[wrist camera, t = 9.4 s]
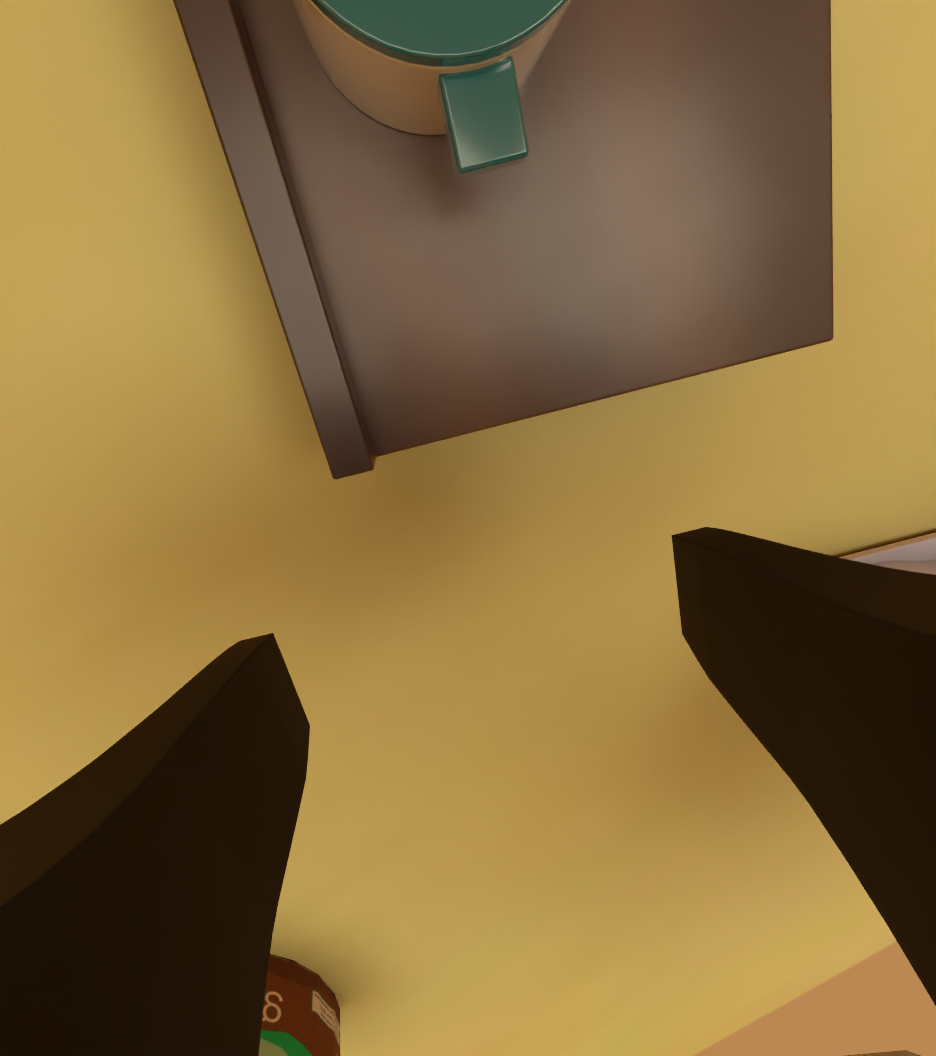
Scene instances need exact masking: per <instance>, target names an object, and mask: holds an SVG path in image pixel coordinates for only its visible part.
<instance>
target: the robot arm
mask: <svg viewBox="0 0 936 1056" xmlns="http://www.w3.org/2000/svg"><path fill="white" fill-rule="evenodd" d="M672 542H673V551H674V561H675V570H676V580H677V589H678V599H679V608H680V617H681V627H682V634H683V636H684V638H685V639H686V641H687V643H688V645H689V646H690V648H691V650H692V652H693V653H694V655H695V657H696V658H697V660H698V662H699V663H700V665H701V666H702V668H703V670H704V671H705V673H706V675H707V676H708V678H709V679H710V680H711V682H712V683H713V684H714V685H715V687H716V688H717V689H718V691H719V692H720V693H721V694H722V695H723V697H724V698H725V699H726V700H727V702H728V703H729V704H730V705H731V707H732V708H733V709H734V710H735V712H736V713H737V714H738V715H739V717H740V718H741V719H742V720H743V721H744V723H745V724H746V725H747V726H748V727H749V729H750V730H751V731H752V732H753V734H754V735H755V736H756V737H757V738H758V740H759V741H760V742H761V743H762V745H763V746H764V747H765V748H766V749H767V751H768V752H769V753H770V754H771V756H772V757H773V758H774V759H775V760H776V762H777V763H778V764H779V765H780V767H781V768H782V769H783V770H784V771H785V773H786V774H787V775H788V776H789V778H790V779H791V780H792V782H793V783H794V784H795V786H796V787H797V788H798V790H799V791H800V792H801V794H802V795H803V796H804V798H805V799H806V800H807V801H808V803H809V804H810V806H811V807H812V809H813V810H814V812H815V813H816V815H817V816H818V818H819V819H820V821H821V822H822V824H823V825H824V827H825V829H826V830H827V832H828V833H829V835H830V836H831V838H832V839H833V841H834V842H835V844H836V845H837V847H838V848H839V850H840V851H841V853H842V854H843V856H844V857H845V859H846V860H847V862H848V863H849V865H850V867H851V868H852V870H853V871H854V873H855V875H856V876H857V878H858V879H859V881H860V882H861V884H862V886H863V887H864V889H865V890H866V892H867V894H868V895H869V897H870V898H871V900H872V901H873V903H874V905H875V906H876V908H877V909H878V911H879V913H880V914H881V916H882V917H883V919H884V921H885V922H886V924H887V925H888V927H889V929H890V930H891V932H892V934H893V935H894V937H895V939H896V940H897V942H898V944H899V945H900V947H901V948H902V950H903V952H904V953H905V955H906V957H907V959H908V960H909V962H910V964H911V965H912V967H913V969H914V970H915V972H916V973H917V975H918V977H919V979H920V980H921V982H922V984H923V985H924V987H925V989H926V990H927V992H928V994H929V995H930V997H931V999H932V1000H933V1002H934V1004H935V1005H936V532H935V533H931V534H927V535H923V536H920V537H916V538H912V539H908V540H904V541H900V542H896V543H892V544H888V545H885V546H881V547H877V548H873V549H869V550H865V551H861V552H857V553H854V554H850V555H846V556H842V557H834V556H830V555H825V554H821V553H817V552H812V551H808V550H804V549H800V548H796V547H792V546H788V545H784V544H780V543H776V542H772V541H768V540H764V539H761V538H757V537H753V536H749V535H745V534H741V533H736V532H732V531H727V530H723V529H717V528H709V527H704V528H700V529H696V530H692V531H688V532H684V533H680V534H675V535H672ZM309 731H310V724H309V722H308V719H307V717H306V714H305V712H304V709H303V707H302V704H301V702H300V699H299V697H298V694H297V692H296V689H295V687H294V684H293V682H292V679H291V677H290V674H289V672H288V669H287V667H286V664H285V662H284V659H283V657H282V654H281V652H280V649H279V647H278V644H277V642H276V639H275V637H274V634H273V633H271V634H267V635H263V636H259V637H255V638H250V639H246V640H242V641H239V642H237V643H236V644H234V645H233V646H231V647H230V648H228V649H227V650H226V651H224V652H223V653H222V654H221V655H219V656H218V657H217V658H216V659H214V660H213V661H212V662H211V663H210V664H209V665H207V666H206V667H205V668H204V669H203V670H202V671H200V672H199V673H198V674H197V675H196V676H195V677H193V678H192V679H191V680H190V681H189V682H188V683H187V684H185V685H184V686H183V687H182V688H181V689H180V690H178V691H177V692H176V693H175V694H174V695H173V696H172V697H170V698H169V699H168V700H167V701H166V702H165V703H164V704H162V705H161V706H160V707H159V708H158V709H157V710H155V711H154V712H153V713H152V714H151V715H149V716H148V717H147V718H146V719H144V720H143V721H142V722H141V723H140V724H138V725H137V726H136V727H135V728H133V729H132V730H131V731H130V732H129V733H127V734H126V735H125V736H124V737H122V738H121V739H120V740H119V741H117V742H116V743H115V744H114V745H113V746H111V747H110V748H109V749H108V750H106V751H105V752H104V753H103V754H101V755H100V756H99V757H98V758H96V759H95V760H94V761H92V762H91V763H90V764H88V765H87V766H86V767H84V768H83V769H82V770H80V771H79V772H78V773H76V774H75V775H73V776H72V777H71V778H69V779H68V780H67V781H65V782H64V783H62V784H61V785H59V786H58V787H57V788H55V789H54V790H52V791H51V792H49V793H48V794H46V795H45V796H44V797H42V798H41V799H39V800H38V801H36V802H35V803H34V804H32V805H31V806H29V807H28V808H26V809H25V810H23V811H22V812H20V813H19V814H17V815H15V816H14V817H12V818H11V819H9V820H7V821H6V822H4V823H2V824H1V825H0V1056H259V1047H260V1037H261V1027H262V1017H263V1007H264V998H265V990H266V982H267V973H268V965H269V957H270V949H271V940H272V933H273V928H274V922H275V917H276V912H277V906H278V901H279V897H280V892H281V888H282V884H283V879H284V875H285V870H286V866H287V861H288V857H289V853H290V848H291V844H292V839H293V835H294V831H295V826H296V822H297V817H298V813H299V808H300V803H301V799H302V794H303V789H304V785H305V780H306V772H307V761H308V748H309ZM848 1056H920V1055H917V1054H915V1053H912V1052H909V1051H906V1050H903V1051H892V1052H881V1053H870V1054H859V1055H848Z"/></svg>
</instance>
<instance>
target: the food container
mask: <svg viewBox="0 0 936 1056" xmlns="http://www.w3.org/2000/svg"><path fill="white" fill-rule="evenodd" d="M259 1056H340V1008H339V1005H338V1003H337V1000H336V997H335V994H334V993H333V992H332V991H331V990H330V988H329V987H328V986H327V985H326V984H325V983H324V982H323V980H322V979H321V978H320V977H319V976H318V975H316V974H315V973H313V972H311V971H309V970H308V969H306V968H304V967H302V966H301V965H299V964H297V963H296V962H294V961H290V960H287V959H283V958H279V957H275V956H272V955H270V957H269V965H268V973H267V982H266V990H265V998H264V1007H263V1017H262V1027H261V1037H260V1047H259Z"/></svg>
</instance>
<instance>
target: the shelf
mask: <svg viewBox="0 0 936 1056" xmlns="http://www.w3.org/2000/svg"><path fill="white" fill-rule="evenodd" d="M173 2H174V5H175V8H176V11H177V14H178V17H179V20H180V23H181V26H182V29H183V32H184V35H185V38H186V41H187V44H188V47H189V50H190V53H191V56H192V59H193V61H194V64H195V67H196V70H197V73H198V76H199V79H200V82H201V85H202V88H203V91H204V94H205V97H206V100H207V103H208V106H209V109H210V112H211V115H212V118H213V121H214V124H215V127H216V130H217V133H218V136H219V139H220V142H221V145H222V148H223V151H224V154H225V157H226V160H227V163H228V166H229V169H230V172H231V175H232V178H233V181H234V184H235V187H236V190H237V193H238V196H239V199H240V202H241V205H242V208H243V211H244V214H245V217H246V220H247V223H248V226H249V229H250V232H251V235H252V238H253V241H254V244H255V247H256V250H257V253H258V256H259V259H260V262H261V265H262V268H263V271H264V274H265V277H266V280H267V283H268V286H269V289H270V292H271V295H272V298H273V301H274V304H275V307H276V310H277V313H278V316H279V319H280V322H281V325H282V328H283V331H284V334H285V337H286V340H287V343H288V346H289V349H290V351H291V354H292V357H293V360H294V363H295V366H296V369H297V372H298V375H299V378H300V381H301V384H302V387H303V390H304V393H305V396H306V399H307V402H308V405H309V408H310V411H311V414H312V417H313V420H314V423H315V426H316V429H317V432H318V435H319V438H320V441H321V444H322V447H323V450H324V453H325V456H326V459H327V462H328V465H329V468H330V471H331V474H332V477H333V478H334V479H340V478H344V477H348V476H352V475H356V474H359V473H363V472H367V471H371V470H373V469H374V464H375V459H376V457H378V456H382V455H386V454H390V453H394V452H398V451H402V450H406V449H410V448H413V447H417V446H421V445H425V444H429V443H433V442H437V441H441V440H445V439H449V438H452V437H456V436H460V435H464V434H468V433H472V432H476V431H480V430H484V429H488V428H492V427H495V426H499V425H503V424H507V423H511V422H515V421H519V420H523V419H527V418H531V417H535V416H538V415H542V414H546V413H550V412H554V411H558V410H562V409H566V408H570V407H574V406H577V405H581V404H585V403H589V402H593V401H597V400H601V399H605V398H609V397H613V396H617V395H620V394H624V393H628V392H632V391H636V390H640V389H644V388H648V387H652V386H656V385H659V384H663V383H667V382H671V381H675V380H679V379H683V378H687V377H691V376H695V375H699V374H702V373H706V372H710V371H714V370H718V369H722V368H726V367H730V366H734V365H738V364H742V363H745V362H749V361H753V360H757V359H761V358H765V357H769V356H773V355H777V354H781V353H784V352H788V351H792V350H796V349H800V348H804V347H808V346H812V345H816V344H820V343H824V342H827V341H830V340H832V339H833V237H832V115H831V0H573V1H572V2H571V4H570V6H569V8H568V9H567V11H566V13H565V15H564V16H563V18H562V20H561V22H560V23H559V25H558V27H557V29H556V31H555V32H554V34H553V36H552V38H551V39H550V41H549V43H548V45H547V46H546V48H545V50H544V52H543V53H542V55H541V57H540V59H539V61H538V62H537V64H536V66H535V68H534V69H533V71H532V72H531V74H530V76H529V77H528V79H527V80H526V82H525V84H524V85H523V86H522V87H521V89H520V90H519V95H520V101H521V107H522V113H523V119H524V124H525V130H526V136H527V142H528V148H529V154H528V156H527V157H526V158H525V159H524V160H523V162H521V163H520V164H517V165H513V166H509V167H506V168H502V169H498V170H494V171H490V172H486V173H482V174H478V175H474V176H470V177H466V178H462V179H458V178H456V176H455V173H454V168H453V164H452V159H451V154H450V150H449V145H448V140H447V135H446V134H443V135H421V134H414V133H408V132H405V131H401V130H398V129H394V128H392V127H389V126H387V125H385V124H383V123H381V122H378V121H377V120H375V119H373V118H372V117H370V116H369V115H367V114H365V113H364V112H362V111H361V110H360V109H359V108H357V107H356V106H355V105H354V104H353V103H351V102H350V101H349V100H348V99H347V98H346V97H345V96H344V95H343V94H342V93H341V92H340V91H339V90H338V89H337V88H336V86H335V85H334V84H333V82H332V81H331V80H330V78H329V77H328V76H327V75H326V73H325V72H324V70H323V69H322V67H321V65H320V64H319V62H318V60H317V59H316V57H315V55H314V53H313V51H312V49H311V47H310V45H309V42H308V40H307V38H306V36H305V34H304V31H303V28H302V26H301V23H300V21H299V18H298V15H297V13H296V10H295V8H294V5H293V2H292V0H173Z"/></svg>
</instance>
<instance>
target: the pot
mask: <svg viewBox="0 0 936 1056" xmlns="http://www.w3.org/2000/svg"><path fill="white" fill-rule="evenodd" d="M572 1H573V0H292V2H293V5H294V8H295V10H296V13H297V15H298V18H299V21H300V23H301V26H302V28H303V31H304V34H305V36H306V38H307V40H308V42H309V45H310V47H311V49H312V51H313V53H314V55H315V57H316V59H317V60H318V62H319V64H320V65H321V67H322V69H323V70H324V72H325V73H326V75H327V76H328V77H329V78H330V80H331V81H332V82H333V84H334V85H335V86H336V88H337V89H338V90H339V91H340V92H341V93H342V94H343V95H344V96H345V97H346V98H347V99H348V100H349V101H350V102H351V103H353V104H354V105H355V106H356V107H357V108H359V109H360V110H361V111H362V112H364V113H365V114H367V115H369V116H370V117H372V118H373V119H375V120H377V121H378V122H381V123H383V124H385V125H387V126H389V127H392V128H394V129H398V130H401V131H405V132H408V133H414V134H421V135H443V134H446V135H447V140H448V145H449V150H450V154H451V159H452V164H453V168H454V173H455V176H456V178H458V179H462V178H466V177H470V176H474V175H478V174H482V173H486V172H490V171H494V170H498V169H502V168H506V167H509V166H513V165H517V164H520V163H521V162H523V160H524V159H525V158H526V157H527V156H528V154H529V148H528V142H527V136H526V130H525V124H524V119H523V113H522V107H521V101H520V95H519V90H520V89H521V87H522V86H523V85H524V84H525V82H526V80H527V79H528V77H529V76H530V74H531V72H532V71H533V69H534V68H535V66H536V64H537V62H538V61H539V59H540V57H541V55H542V53H543V52H544V50H545V48H546V46H547V45H548V43H549V41H550V39H551V38H552V36H553V34H554V32H555V31H556V29H557V27H558V25H559V23H560V22H561V20H562V18H563V16H564V15H565V13H566V11H567V9H568V8H569V6H570V4H571V2H572Z"/></svg>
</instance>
